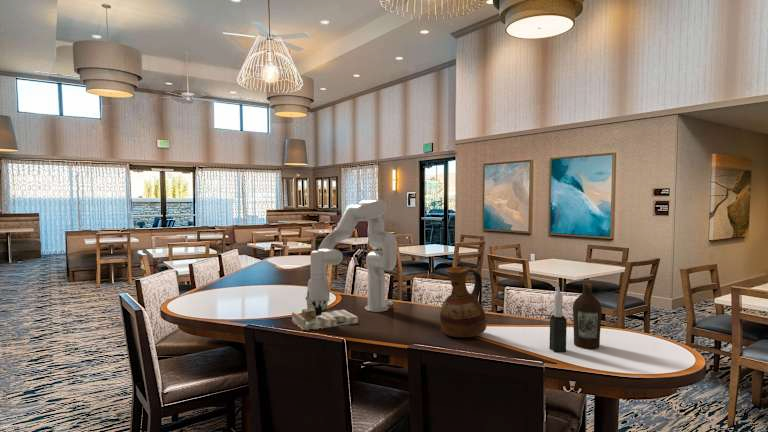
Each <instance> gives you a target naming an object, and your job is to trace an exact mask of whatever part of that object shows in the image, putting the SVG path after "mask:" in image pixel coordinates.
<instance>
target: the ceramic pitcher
mask: <svg viewBox="0 0 768 432" xmlns="http://www.w3.org/2000/svg"><path fill="white" fill-rule="evenodd" d="M445 273H446V274H448V275H449V276H450V285H451V287H452V289H451V294H450V295H448V297H447V298H446V299H445V300H444V302H443V304H442V306H441V308H440V313H439V323H440V328H441V331H442V332H443V333H444V334H445V335H446V336H447V335H448V336H449V337H454V338H470V337H476V336H478V335H480V334H482V333H483V332H485V331H486V329H487V317H486V312H485V309H484V308H483V306H482V304H481V303H480V301H479V296H480V292H481V288H482V276H481V275H480V273H479V272H478V271H477V270H475V269H474V268H471V267H470V266H456V267H453V266H452V267H448V268H446V269H445ZM469 273H472V274H473V276H474V277H473V278H474V286H473V290H472V292H469V291H468V289H467V285H466V277H467V275H468V274H469Z"/></svg>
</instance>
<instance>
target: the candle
mask: <svg viewBox="0 0 768 432" xmlns="http://www.w3.org/2000/svg"><path fill="white" fill-rule="evenodd" d="M563 298H564V297H563V294H562V292H561V290H560V286H558V287H557V290H556V292H555V294H554V298H553V299H554V300H553V301H554V304H553V305H554V310H553V313H554V314H552V315H551V316H549V350H551V351H553V352H554V353H566V352H567V326H568V325H567V321H568V320H567V318H565V316H564V315H563V300H564V299H563Z"/></svg>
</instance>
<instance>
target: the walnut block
mask: <svg viewBox="0 0 768 432" xmlns="http://www.w3.org/2000/svg"><path fill="white" fill-rule="evenodd" d="M301 315H302V317H303V318H304V319H305V320H312V319H316V310H314V309H313V308H310V309H307V308H304V309H302V310H301Z"/></svg>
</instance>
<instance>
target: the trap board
mask: <svg viewBox="0 0 768 432" xmlns="http://www.w3.org/2000/svg"><path fill="white" fill-rule="evenodd" d="M291 314H292V315H291V322H292V324H294V326H296V325H297V326H296V327H297V328H299V327H300V328H301V329H300V328H299V329H300V330H302V329H303V330H307V331H310V330H309V329H314V330H320V329H319V328H321V329H325V328H326V329H328V328H333V327H340V326H346V325H351V324H358V321H359V320H358V318H359V316H357V315H355V314H353V313H351V312H348V311H347V310H346V309H340V310H339V309H337V310H331V311H330V310H329V311H327V312H322V313H321V315H319V316H316V319H312V320H305V319H304V318H303V317H302V314H299V313H296V312H295V311H291ZM303 330H302V331H303Z"/></svg>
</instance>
